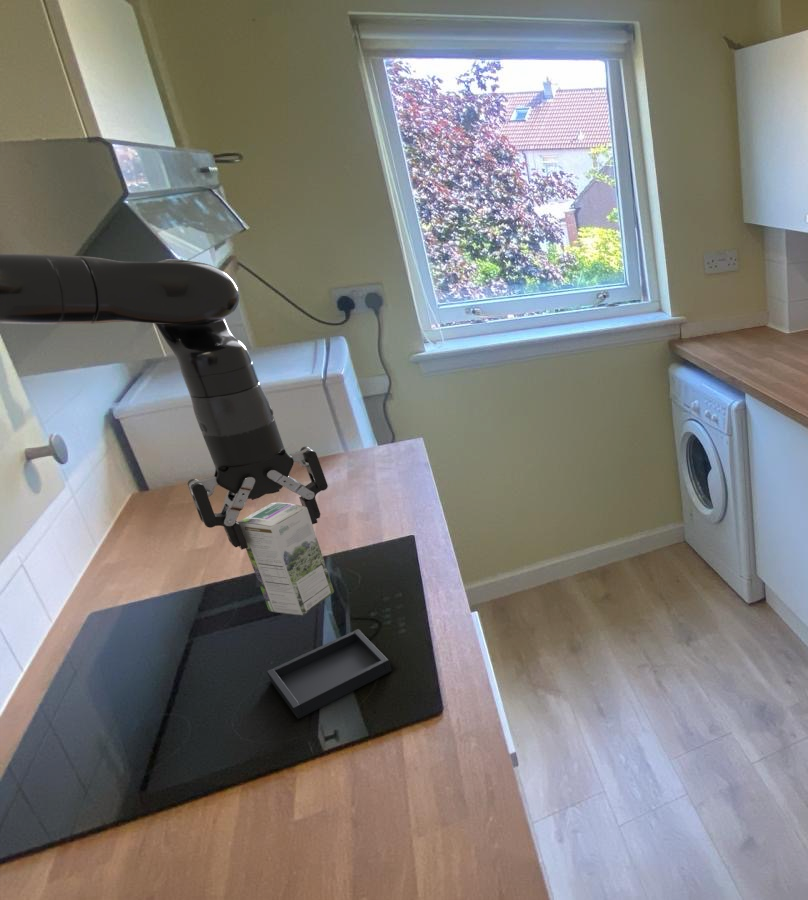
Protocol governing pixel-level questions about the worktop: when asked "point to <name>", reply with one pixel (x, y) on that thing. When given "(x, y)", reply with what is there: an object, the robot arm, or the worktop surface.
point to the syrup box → (286, 558)
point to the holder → (328, 672)
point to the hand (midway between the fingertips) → (278, 534)
